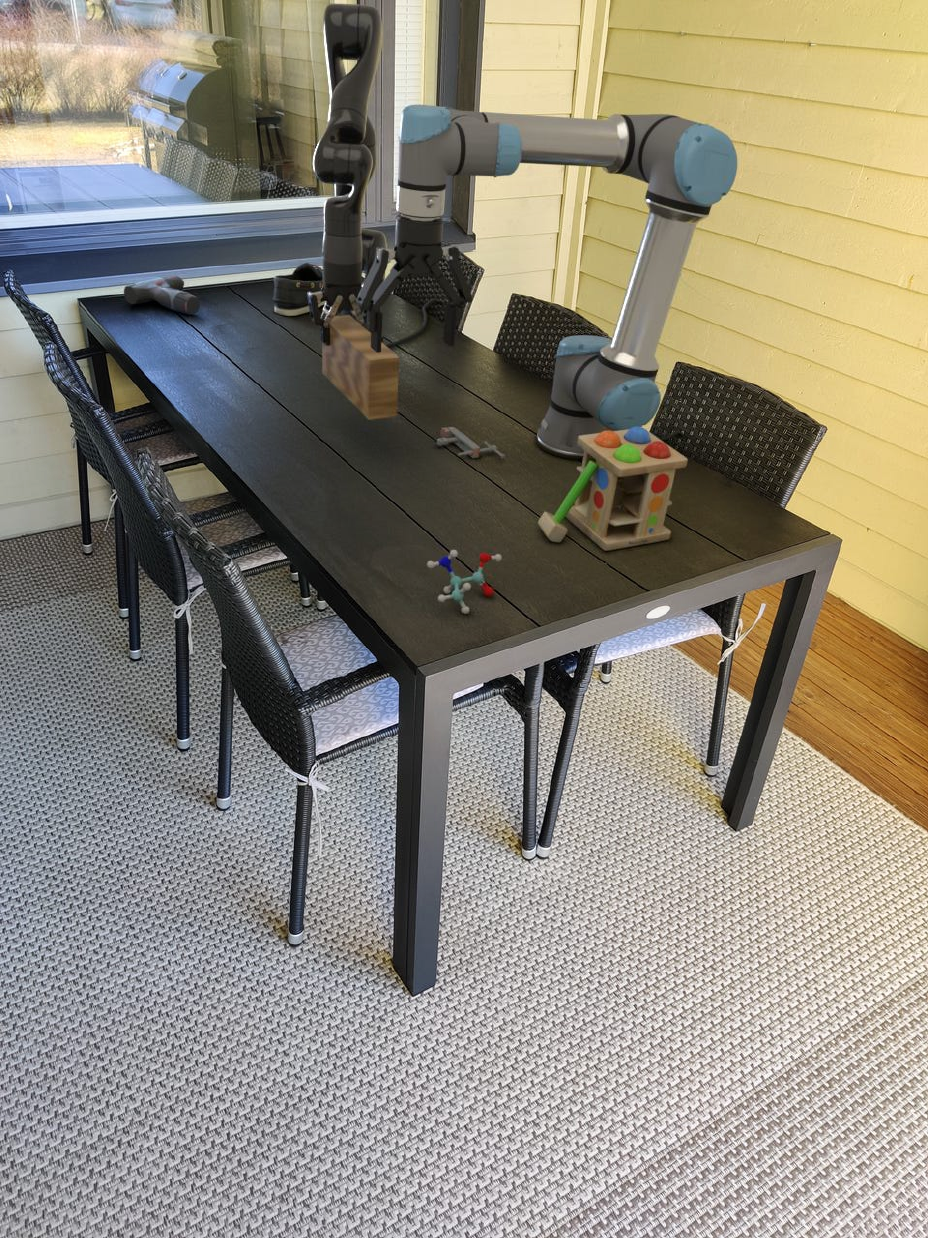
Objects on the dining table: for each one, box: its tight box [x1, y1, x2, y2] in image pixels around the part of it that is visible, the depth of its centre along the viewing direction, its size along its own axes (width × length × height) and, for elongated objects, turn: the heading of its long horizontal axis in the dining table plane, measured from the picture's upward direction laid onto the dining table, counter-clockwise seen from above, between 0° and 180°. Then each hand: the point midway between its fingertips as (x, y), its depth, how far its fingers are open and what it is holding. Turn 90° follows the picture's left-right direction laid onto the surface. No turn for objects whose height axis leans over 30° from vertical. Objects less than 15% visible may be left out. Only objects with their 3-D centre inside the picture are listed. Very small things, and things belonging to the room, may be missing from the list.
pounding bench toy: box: [537, 426, 689, 552], centre depth 173 cm, size 23×14×18 cm, turn 116°
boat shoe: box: [272, 262, 326, 317], centre depth 274 cm, size 13×33×10 cm, turn 147°
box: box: [321, 315, 400, 421], centre depth 191 cm, size 24×6×12 cm, turn 28°
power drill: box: [123, 275, 201, 316], centre depth 262 cm, size 5×19×20 cm
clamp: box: [436, 426, 507, 460], centre depth 201 cm, size 15×2×10 cm
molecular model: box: [426, 549, 503, 615], centre depth 154 cm, size 12×10×10 cm
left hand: (341, 342), depth 197 cm, fingers closed on box, 6 cm apart
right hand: (412, 346), depth 167 cm, fingers open, 13 cm apart
